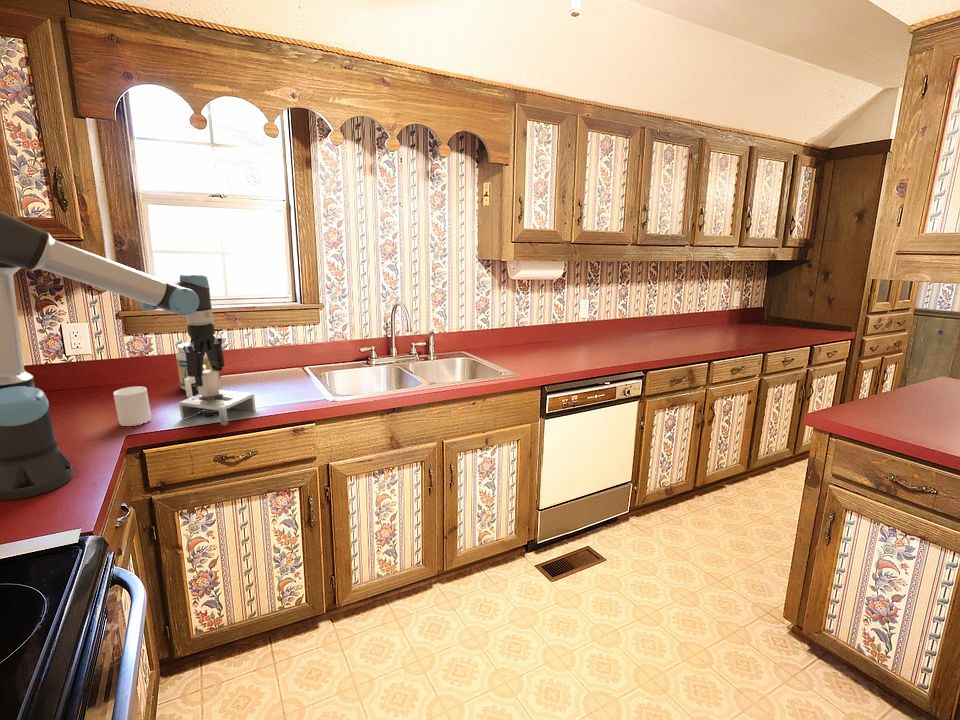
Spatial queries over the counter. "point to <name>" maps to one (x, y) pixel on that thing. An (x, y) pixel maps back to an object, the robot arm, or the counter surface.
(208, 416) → the counter surface
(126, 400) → the mug
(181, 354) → the supplement tub
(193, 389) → the medicine bottle
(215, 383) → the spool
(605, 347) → the counter surface
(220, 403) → the white table-shaped stand
